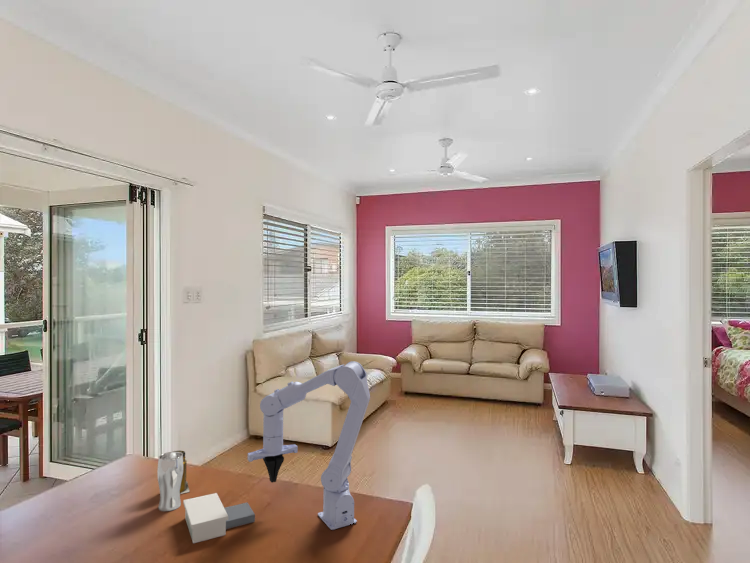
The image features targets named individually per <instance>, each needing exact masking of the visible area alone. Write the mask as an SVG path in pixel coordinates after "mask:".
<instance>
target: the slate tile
mask: <svg viewBox="0 0 750 563" xmlns="http://www.w3.org/2000/svg"><path fill="white" fill-rule="evenodd" d="M224 508H225V510H226V512H227V514H228V520H226V530H228V529H232V528H236V527H240V526H244V525H248V524H252V523H255V522H256V514H255V512H254V511H253V509H252V508H251V505H250V504H249V502H243V503H239V504H235V505H230V506H227V507H224Z"/></svg>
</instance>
